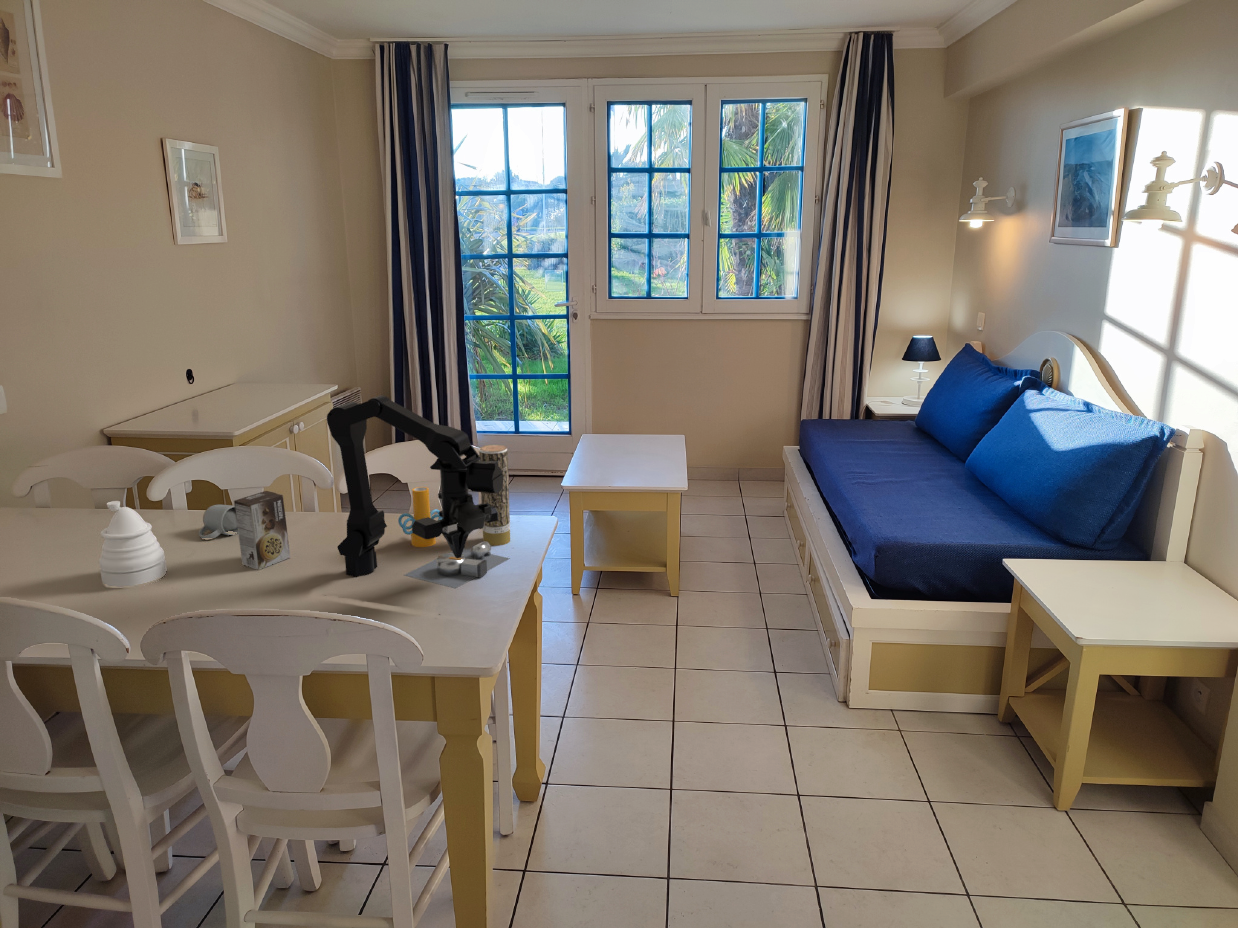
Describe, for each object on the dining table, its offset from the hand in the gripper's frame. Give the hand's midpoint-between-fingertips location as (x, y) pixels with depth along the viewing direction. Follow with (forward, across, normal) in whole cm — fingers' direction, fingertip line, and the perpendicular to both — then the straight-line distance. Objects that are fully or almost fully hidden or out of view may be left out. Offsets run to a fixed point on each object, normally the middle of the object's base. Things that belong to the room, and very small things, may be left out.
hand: (458, 557), depth 186 cm
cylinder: (+7, +8, +27) cm, 29 cm away
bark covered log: (+7, +21, +16) cm, 27 cm away
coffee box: (+7, -25, +44) cm, 51 cm away
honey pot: (+7, -50, +55) cm, 75 cm away
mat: (+7, +5, +8) cm, 12 cm away
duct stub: (+6, +12, +10) cm, 17 cm away
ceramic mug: (+7, -26, +71) cm, 76 cm away
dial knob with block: (+6, +3, +4) cm, 8 cm away
